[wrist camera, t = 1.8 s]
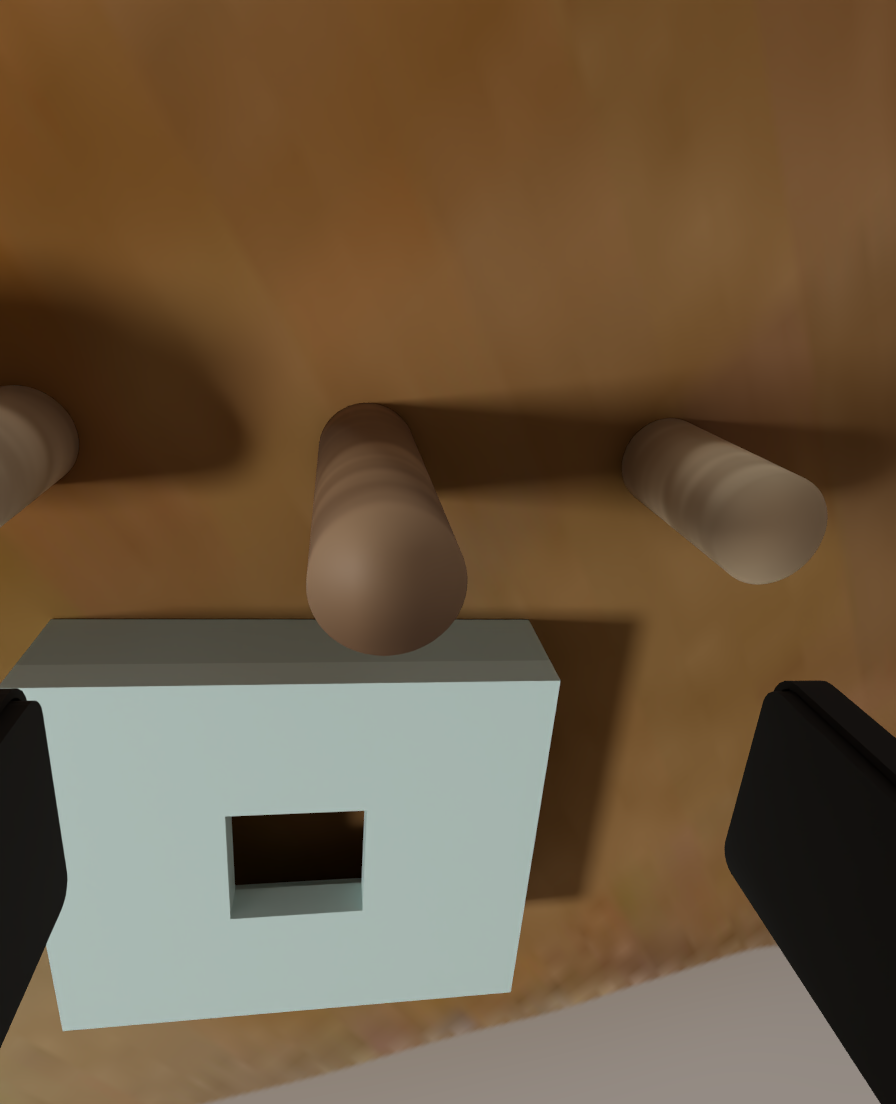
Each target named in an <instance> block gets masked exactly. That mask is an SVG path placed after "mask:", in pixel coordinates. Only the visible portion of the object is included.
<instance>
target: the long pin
mask: <svg viewBox="0 0 896 1104" xmlns="http://www.w3.org/2000/svg"><path fill="white" fill-rule="evenodd" d="M306 591H307V598H308V603H309V606H310V609H311V611H312V614H313V615H314V617H315V619H316V621H317V622H318V624H319V625H320V626H321V628H322V629H323V630H324V631H325V632H326V633H327V634H328V635H329V636H330V637H331V638H333V639H334V640H335V641H337V642H338V643H340V644H341V645H343V646H345V647H347V648H349V649H352V650H354V651H357V652H360V653H364V654H369V655H376V656H391V655H399V654H405V653H408V652H411V651H415V650H417V649H419V648H422V647H424V646H426V645H427V644H429V643H431V642H433V641H434V640H435V639H437V638H438V637H439V636H441V635H442V634H443V633H444V632H445V631H446V630H447V629H448V628H449V627H450V625H451V624H452V623H453V622H454V620H455V619H456V617H457V616H458V614H459V612H460V610H461V608H462V606H463V603H464V599H465V596H466V591H467V570H466V565H465V561H464V558H463V556H462V553H461V551H460V549H459V546H458V544H457V541H456V539H455V537H454V534H453V532H452V529H451V527H450V525H449V522H448V520H447V517H446V515H445V513H444V510H443V508H442V505H441V503H440V501H439V498H438V496H437V493H436V491H435V489H434V486H433V484H432V481H431V479H430V477H429V474H428V472H427V469H426V467H425V465H424V462H423V460H422V457H421V455H420V453H419V450H418V448H417V446H416V443H415V441H414V438H413V436H412V434H411V431H410V429H409V427H408V426H407V424H406V423H405V421H404V420H403V419H402V418H401V417H400V416H399V415H398V414H397V413H395V412H394V411H393V410H391V409H389V408H387V407H385V406H382V405H378V404H374V403H359V404H354V405H351V406H348V407H346V408H344V409H342V410H340V411H339V412H337V413H336V414H335V415H334V416H333V417H332V418H331V419H330V420H329V421H328V423H327V424H326V426H325V427H324V429H323V431H322V434H321V437H320V442H319V451H318V462H317V473H316V483H315V494H314V505H313V515H312V526H311V537H310V547H309V558H308V569H307V580H306Z"/></svg>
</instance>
